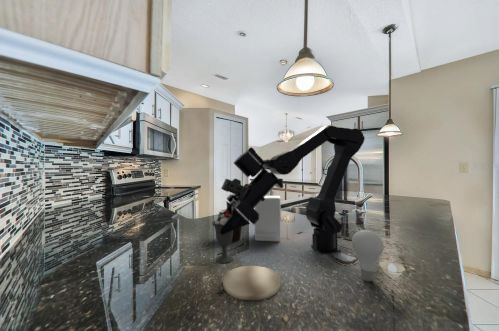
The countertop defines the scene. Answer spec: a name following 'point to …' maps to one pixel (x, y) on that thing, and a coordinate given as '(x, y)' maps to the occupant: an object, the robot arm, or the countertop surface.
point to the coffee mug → (234, 231)
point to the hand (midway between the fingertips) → (219, 229)
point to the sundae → (223, 236)
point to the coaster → (251, 282)
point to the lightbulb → (367, 252)
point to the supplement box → (268, 219)
